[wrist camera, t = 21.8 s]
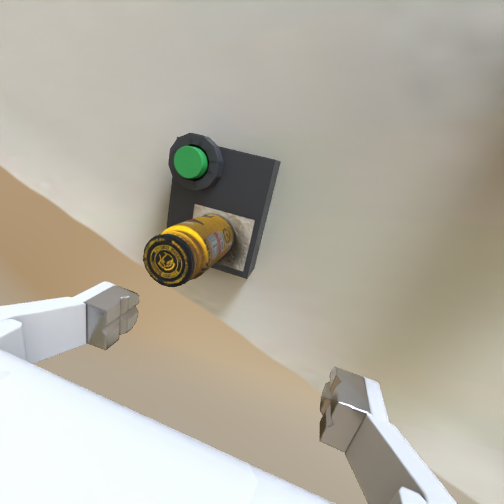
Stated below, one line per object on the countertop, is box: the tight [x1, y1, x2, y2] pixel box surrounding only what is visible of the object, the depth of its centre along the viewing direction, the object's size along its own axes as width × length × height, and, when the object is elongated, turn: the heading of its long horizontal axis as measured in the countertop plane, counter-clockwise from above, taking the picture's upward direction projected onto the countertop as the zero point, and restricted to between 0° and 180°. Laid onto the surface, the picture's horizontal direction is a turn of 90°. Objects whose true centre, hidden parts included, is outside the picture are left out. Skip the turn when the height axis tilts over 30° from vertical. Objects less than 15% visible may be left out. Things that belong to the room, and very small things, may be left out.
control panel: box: [167, 133, 280, 279], centre depth 35 cm, size 17×13×6 cm
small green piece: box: [174, 146, 208, 178], centre depth 31 cm, size 4×4×2 cm
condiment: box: [143, 204, 255, 287], centre depth 30 cm, size 7×8×12 cm
